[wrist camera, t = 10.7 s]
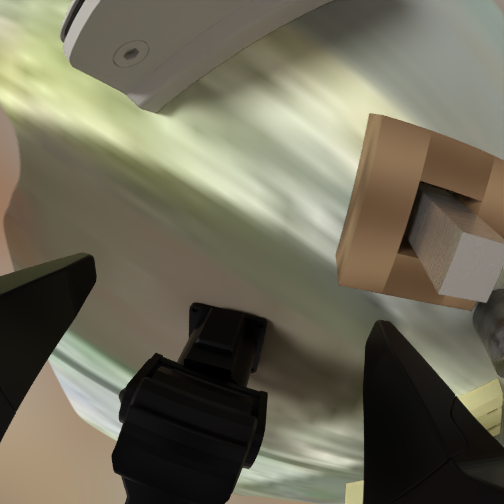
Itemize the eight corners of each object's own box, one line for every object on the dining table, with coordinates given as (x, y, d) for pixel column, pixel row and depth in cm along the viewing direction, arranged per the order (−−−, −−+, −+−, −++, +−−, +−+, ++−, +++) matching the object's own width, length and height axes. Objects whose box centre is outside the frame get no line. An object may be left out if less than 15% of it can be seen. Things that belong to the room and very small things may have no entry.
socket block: (453, 280, 21) (471, 310, 17) (335, 254, 22) (338, 285, 18) (496, 158, 16) (526, 171, 13) (369, 113, 17) (382, 115, 14)
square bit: (433, 229, 20) (486, 302, 12) (396, 220, 20) (437, 293, 12) (445, 189, 18) (511, 246, 10) (407, 178, 18) (462, 232, 11)
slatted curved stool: (346, 391, 28) (339, 564, 12) (495, 328, 22) (561, 492, 6) (405, 480, 37) (406, 571, 21) (494, 446, 31) (510, 537, 15)
